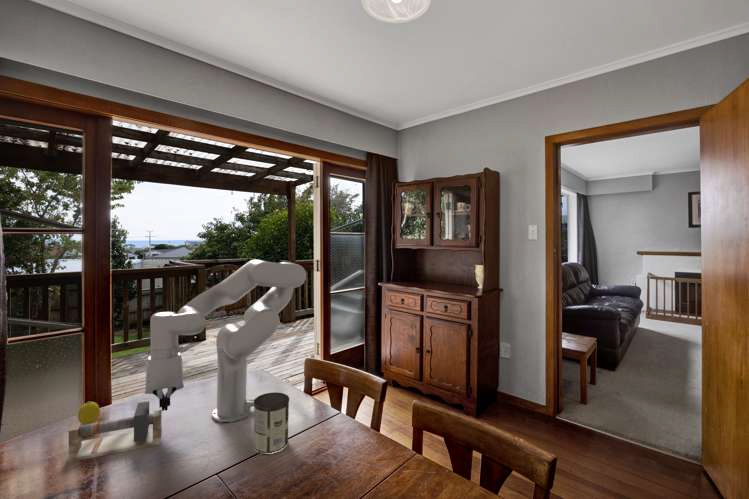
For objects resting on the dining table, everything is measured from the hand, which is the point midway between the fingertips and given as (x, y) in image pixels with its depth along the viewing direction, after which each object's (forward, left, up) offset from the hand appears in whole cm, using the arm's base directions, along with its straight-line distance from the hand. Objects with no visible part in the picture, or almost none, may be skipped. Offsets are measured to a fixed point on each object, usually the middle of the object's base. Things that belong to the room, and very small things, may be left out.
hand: (164, 408), depth 116 cm
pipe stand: (+12, +3, -7) cm, 14 cm away
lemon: (+22, -12, -7) cm, 26 cm away
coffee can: (-29, +21, -8) cm, 37 cm away
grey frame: (+6, +3, -5) cm, 8 cm away
